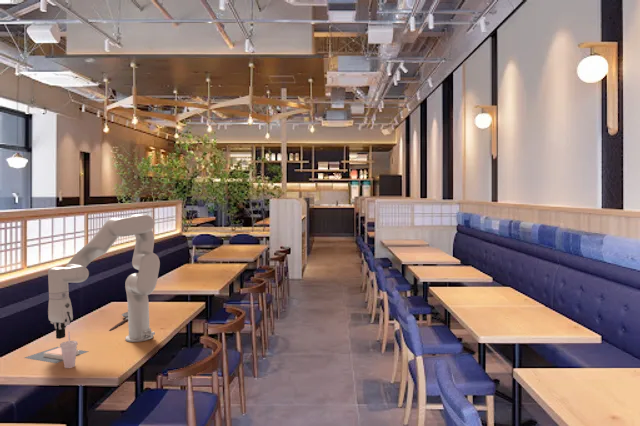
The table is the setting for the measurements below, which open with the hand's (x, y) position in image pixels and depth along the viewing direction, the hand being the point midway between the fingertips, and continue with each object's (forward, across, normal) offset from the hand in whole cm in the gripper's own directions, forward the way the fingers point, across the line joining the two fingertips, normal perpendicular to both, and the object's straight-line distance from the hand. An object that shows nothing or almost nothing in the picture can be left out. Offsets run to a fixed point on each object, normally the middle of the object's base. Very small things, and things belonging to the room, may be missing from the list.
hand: (60, 337), depth 209 cm
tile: (+7, +6, 0) cm, 9 cm away
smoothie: (+8, -15, +8) cm, 19 cm away
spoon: (+9, +18, -52) cm, 56 cm away
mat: (+8, +3, 0) cm, 9 cm away
